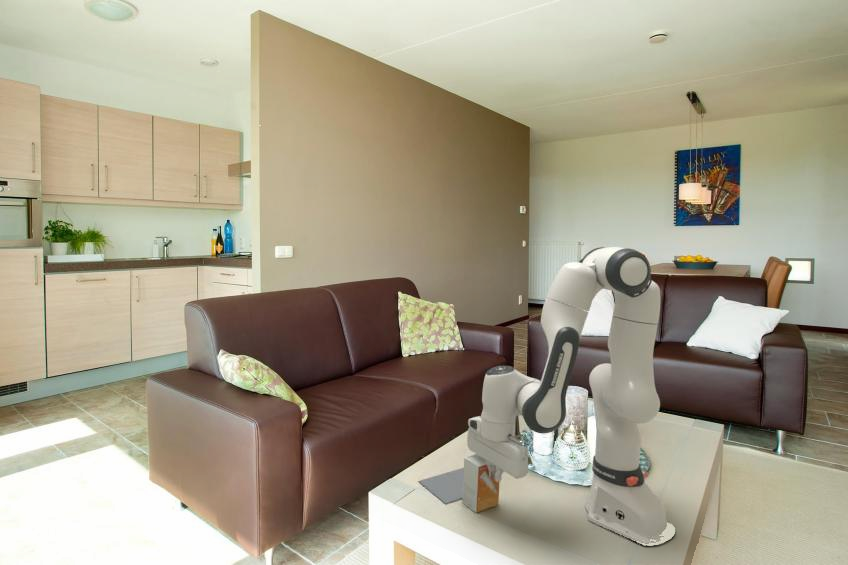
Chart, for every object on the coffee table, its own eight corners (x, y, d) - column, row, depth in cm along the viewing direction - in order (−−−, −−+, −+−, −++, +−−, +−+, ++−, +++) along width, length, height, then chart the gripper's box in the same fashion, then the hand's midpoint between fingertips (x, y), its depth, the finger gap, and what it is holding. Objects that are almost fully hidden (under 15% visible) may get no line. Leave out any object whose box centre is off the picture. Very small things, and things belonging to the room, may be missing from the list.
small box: (476, 513, 129) (478, 466, 128) (461, 502, 134) (463, 457, 133) (499, 505, 134) (501, 459, 132) (484, 494, 139) (486, 450, 138)
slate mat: (498, 486, 143) (498, 485, 143) (445, 504, 133) (445, 503, 133) (468, 467, 155) (468, 466, 155) (418, 481, 145) (418, 480, 145)
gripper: (535, 440, 120) (532, 494, 121) (482, 413, 137) (479, 460, 138) (517, 446, 116) (513, 501, 118) (464, 417, 133) (462, 466, 135)
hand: (495, 479), depth 128 cm, fingers closed
